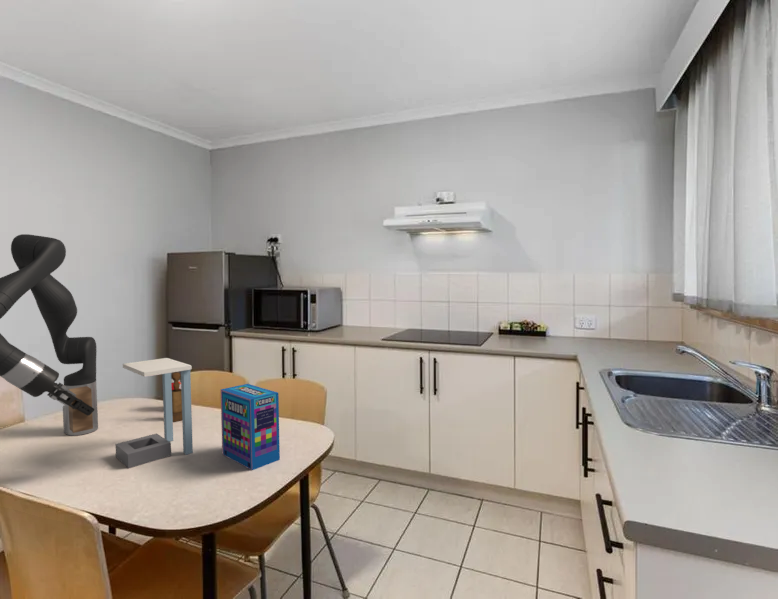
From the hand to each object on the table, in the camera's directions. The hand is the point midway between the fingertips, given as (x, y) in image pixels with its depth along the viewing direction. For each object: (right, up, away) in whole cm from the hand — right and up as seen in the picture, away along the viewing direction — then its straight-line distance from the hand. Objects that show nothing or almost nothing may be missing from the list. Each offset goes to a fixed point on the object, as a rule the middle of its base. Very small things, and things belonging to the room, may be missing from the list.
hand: (88, 410), depth 118 cm
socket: (+9, -17, +11) cm, 22 cm away
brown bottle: (+2, -15, +45) cm, 47 cm away
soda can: (-5, -15, +57) cm, 59 cm away
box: (+42, -17, +10) cm, 46 cm away
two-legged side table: (+12, -16, +14) cm, 25 cm away
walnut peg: (-1, -5, -1) cm, 5 cm away
